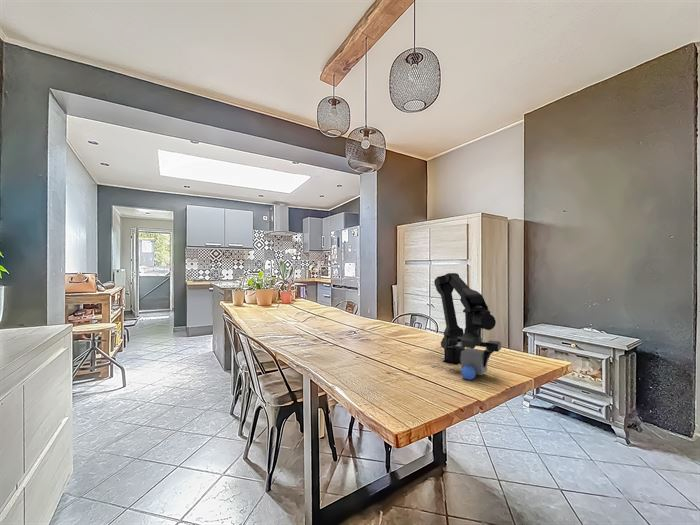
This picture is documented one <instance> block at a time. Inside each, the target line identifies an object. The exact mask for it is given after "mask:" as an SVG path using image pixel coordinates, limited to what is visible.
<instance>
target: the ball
mask: <svg viewBox="0 0 700 525" xmlns="http://www.w3.org/2000/svg"><path fill="white" fill-rule="evenodd" d="M476 375H477V374H476V372H475V369H474V368H473V367H471V366H464V367H463V368H462V371H461V376H462V377H463V379H465V380H469V381H471V380H473V379H475V377H476Z"/></svg>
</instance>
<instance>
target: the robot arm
mask: <svg viewBox="0 0 700 525" xmlns="http://www.w3.org/2000/svg"><path fill="white" fill-rule="evenodd" d="M433 283H434V286H435V289H436V291H437V293H438V294H439V295H440V298H441V303H442V309H443V315H444V321H445V329H444V331H443V337H442V339H441V341H440V346H441V348H442V349H443V350H444V357H443V358H444V360H443V361H442V362H443V363H447V364H452V365H459V364H461V351H463V350H464V349H466V348H471V349H476V347H480V348H485V349H483V350H484V368H485V367H486V365H487V366H488V362H489V359H490V357H491V355H492V354H493V353H495V352H499V351H501V349H502V342H500V341H498V340H487V342H486V341H483V338H482V331H483V330H486V331H491V330H493V329H494V328H495V326H496V318H495V317H494V315H492V314H491V311H490V310H489V306H488V305H487V302H486V301H485V298H484V296H483V295H482V294H481V292H479V291H477V290H474V289H471V287H469V286H468V284H466V282H465V281H464V280H463V279H462V278H461V277H460V275H459V273H457V272H450V273H449V272H448V273H446V274H443V275H440V276H437V277H436V278H435V279H434V280H433ZM454 290H455V291H456V293H457V294H458V295H459V296H460V299H459V300H460V302H461V305H462V306H463V307H464V309H463V310H462V313H464V315H465V316H464V318H465V321H464V322H465V328H463V327H460V326H459V325H458V320H457V316H456V315H457V314H456V309H455V305H454V304H455V303H454V299H453V291H454Z"/></svg>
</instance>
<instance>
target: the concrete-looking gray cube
mask: <svg viewBox="0 0 700 525" xmlns="http://www.w3.org/2000/svg"><path fill="white" fill-rule="evenodd" d="M484 350H485V349H479V348H473V349H471V348H468V347H465V349H464V350H463V351H461V362H460V364H461V369H460V370H461V371H462V368H463V367H464V366H471V367H473V368H474V369H475V372H476V375H478V376H482V375H484V374H485V373H487V371H488V364H487V365H486V367H485V368H484Z"/></svg>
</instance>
